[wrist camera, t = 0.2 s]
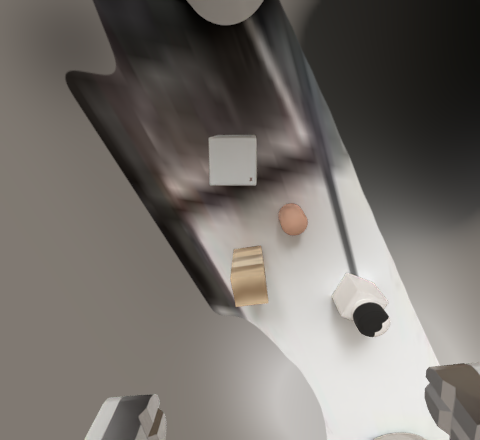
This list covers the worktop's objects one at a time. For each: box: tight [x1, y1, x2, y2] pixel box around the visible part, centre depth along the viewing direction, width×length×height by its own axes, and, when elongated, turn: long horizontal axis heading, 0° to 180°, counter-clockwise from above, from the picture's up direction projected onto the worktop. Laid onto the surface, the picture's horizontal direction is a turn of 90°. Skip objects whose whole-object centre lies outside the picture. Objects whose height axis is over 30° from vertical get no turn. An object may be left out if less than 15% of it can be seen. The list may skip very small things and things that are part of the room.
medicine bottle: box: [332, 273, 390, 337], centre depth 56 cm, size 7×7×12 cm
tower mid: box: [232, 254, 267, 287], centre depth 54 cm, size 6×6×4 cm
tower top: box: [230, 264, 268, 307], centre depth 50 cm, size 6×6×4 cm
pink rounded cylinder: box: [278, 203, 308, 235], centre depth 54 cm, size 5×5×5 cm
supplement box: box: [208, 135, 257, 186], centre depth 46 cm, size 7×7×13 cm
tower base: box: [233, 246, 266, 277], centre depth 58 cm, size 6×6×4 cm
